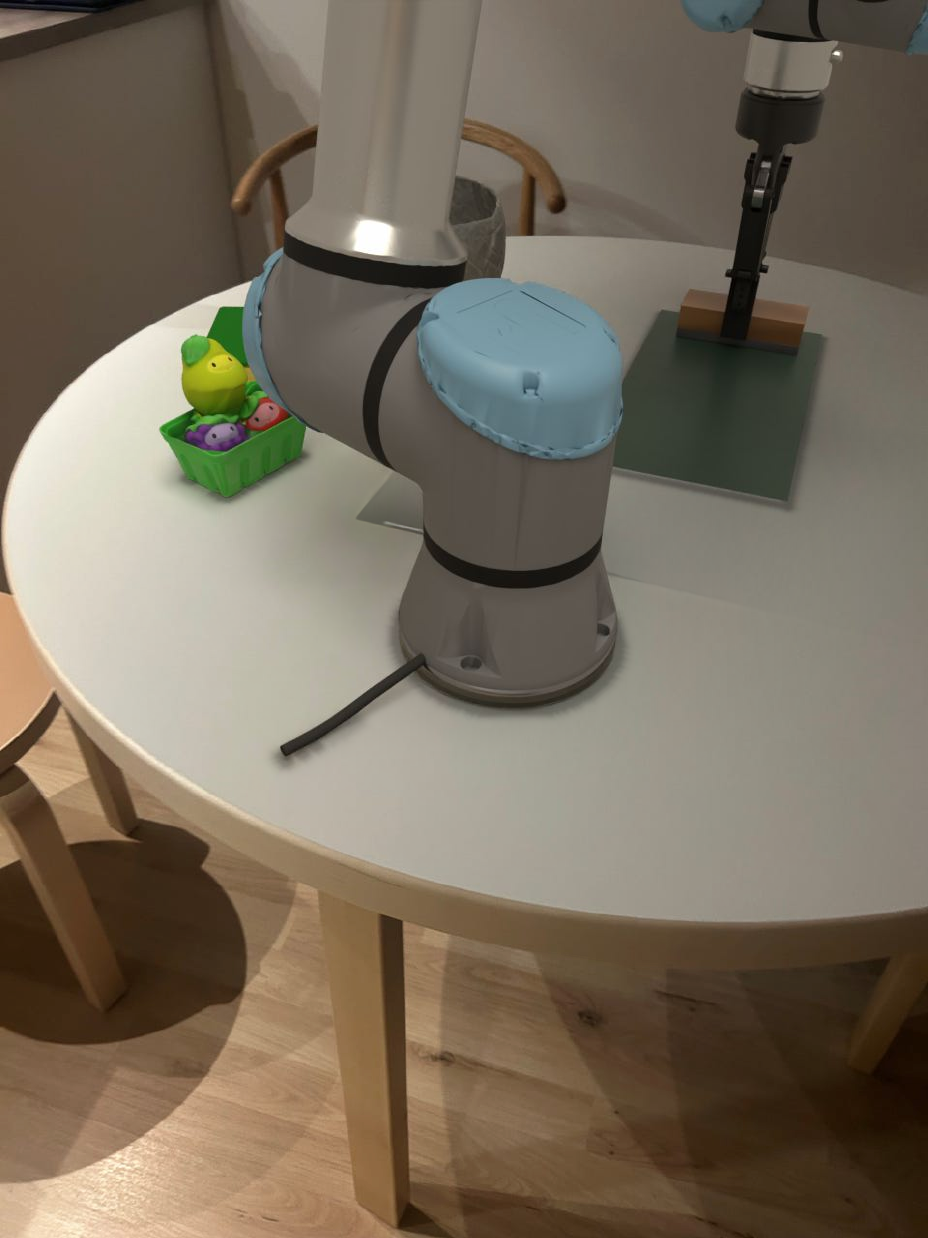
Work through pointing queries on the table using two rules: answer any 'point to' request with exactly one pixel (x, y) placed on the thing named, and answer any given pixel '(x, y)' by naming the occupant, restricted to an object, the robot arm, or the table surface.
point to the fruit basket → (228, 422)
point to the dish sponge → (231, 334)
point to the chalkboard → (715, 411)
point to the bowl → (479, 227)
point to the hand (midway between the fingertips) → (733, 335)
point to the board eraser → (768, 326)
